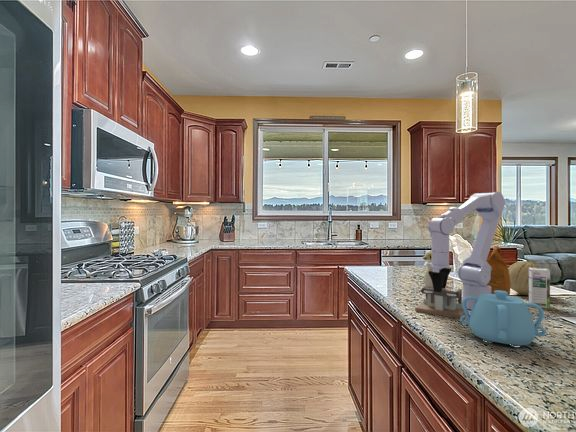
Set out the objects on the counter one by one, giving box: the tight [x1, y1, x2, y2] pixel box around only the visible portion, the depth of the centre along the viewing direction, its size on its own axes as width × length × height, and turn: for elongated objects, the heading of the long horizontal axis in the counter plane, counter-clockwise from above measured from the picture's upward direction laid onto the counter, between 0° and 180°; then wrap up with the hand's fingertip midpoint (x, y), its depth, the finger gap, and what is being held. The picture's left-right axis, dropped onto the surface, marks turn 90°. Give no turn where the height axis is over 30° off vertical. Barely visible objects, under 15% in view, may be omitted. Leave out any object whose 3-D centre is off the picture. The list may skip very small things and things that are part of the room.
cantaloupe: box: [508, 260, 542, 296], centre depth 143 cm, size 15×15×15 cm
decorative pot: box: [459, 290, 547, 347], centre depth 92 cm, size 16×16×14 cm
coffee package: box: [486, 245, 511, 296], centre depth 133 cm, size 10×12×22 cm
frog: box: [419, 251, 452, 292], centre depth 148 cm, size 12×13×18 cm
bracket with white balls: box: [421, 285, 463, 306], centre depth 118 cm, size 8×12×5 cm, turn 54°
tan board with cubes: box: [414, 294, 465, 319], centre depth 118 cm, size 12×15×6 cm
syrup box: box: [528, 267, 551, 309], centre depth 125 cm, size 6×6×14 cm
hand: (440, 289), depth 116 cm, fingers open, 7 cm apart
